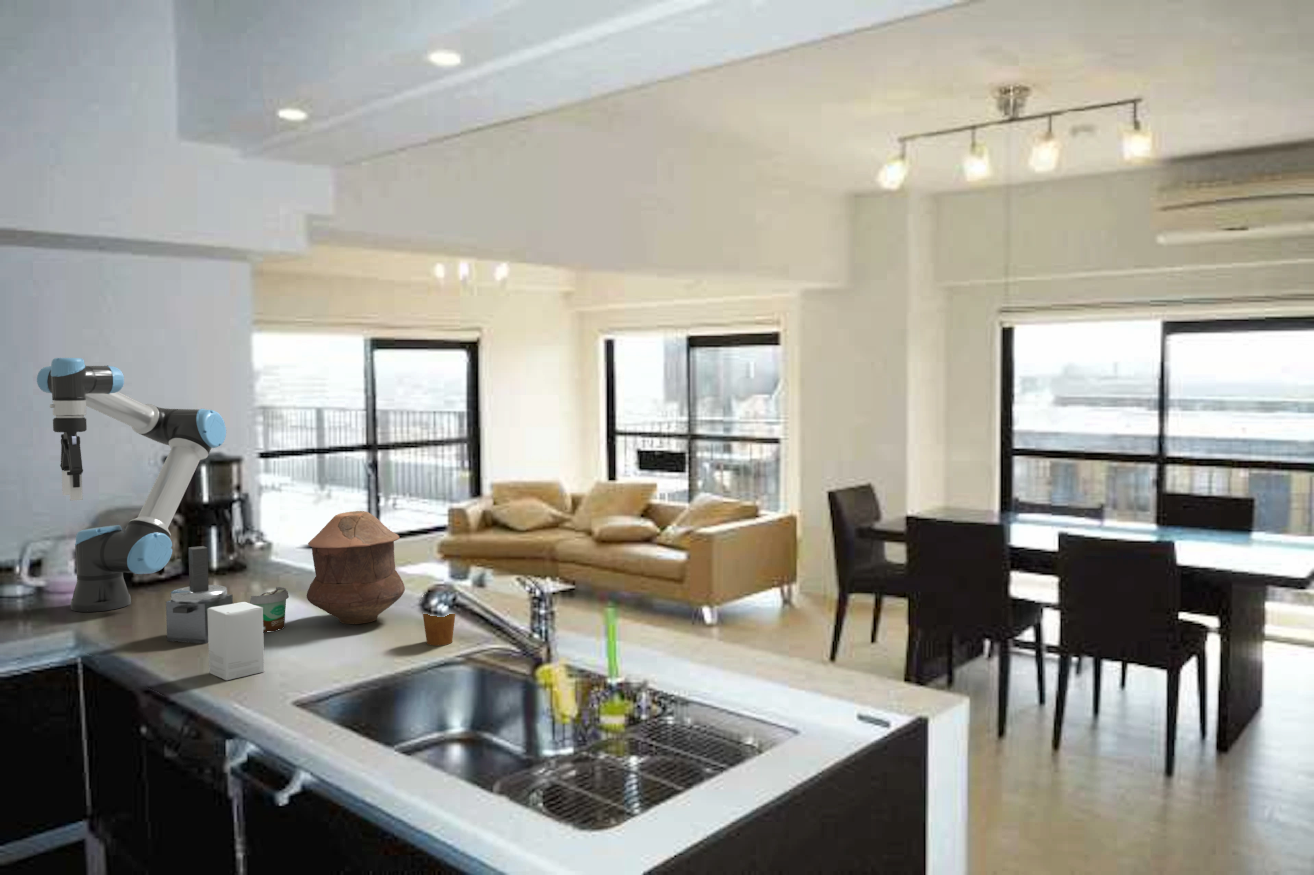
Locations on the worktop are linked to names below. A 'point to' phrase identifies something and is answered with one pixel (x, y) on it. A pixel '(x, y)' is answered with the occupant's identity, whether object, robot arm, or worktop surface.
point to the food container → (272, 608)
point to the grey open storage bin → (190, 620)
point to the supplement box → (235, 640)
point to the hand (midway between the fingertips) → (72, 497)
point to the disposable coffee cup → (439, 629)
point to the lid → (198, 581)
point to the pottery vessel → (354, 568)
